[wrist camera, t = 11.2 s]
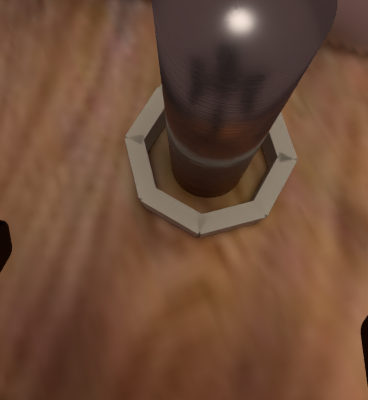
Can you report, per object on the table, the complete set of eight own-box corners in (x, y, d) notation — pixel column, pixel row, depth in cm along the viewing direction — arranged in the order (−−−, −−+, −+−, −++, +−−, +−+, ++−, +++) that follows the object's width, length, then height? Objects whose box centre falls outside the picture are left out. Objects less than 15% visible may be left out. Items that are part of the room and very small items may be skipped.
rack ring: (154, 250, 19) (150, 247, 17) (121, 112, 21) (114, 96, 19) (300, 211, 19) (313, 204, 17) (255, 80, 21) (262, 61, 19)
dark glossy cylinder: (205, 212, 19) (240, 112, 7) (156, 159, 20) (113, -15, 8) (259, 165, 20) (376, -2, 8) (209, 114, 21) (246, -111, 9)
